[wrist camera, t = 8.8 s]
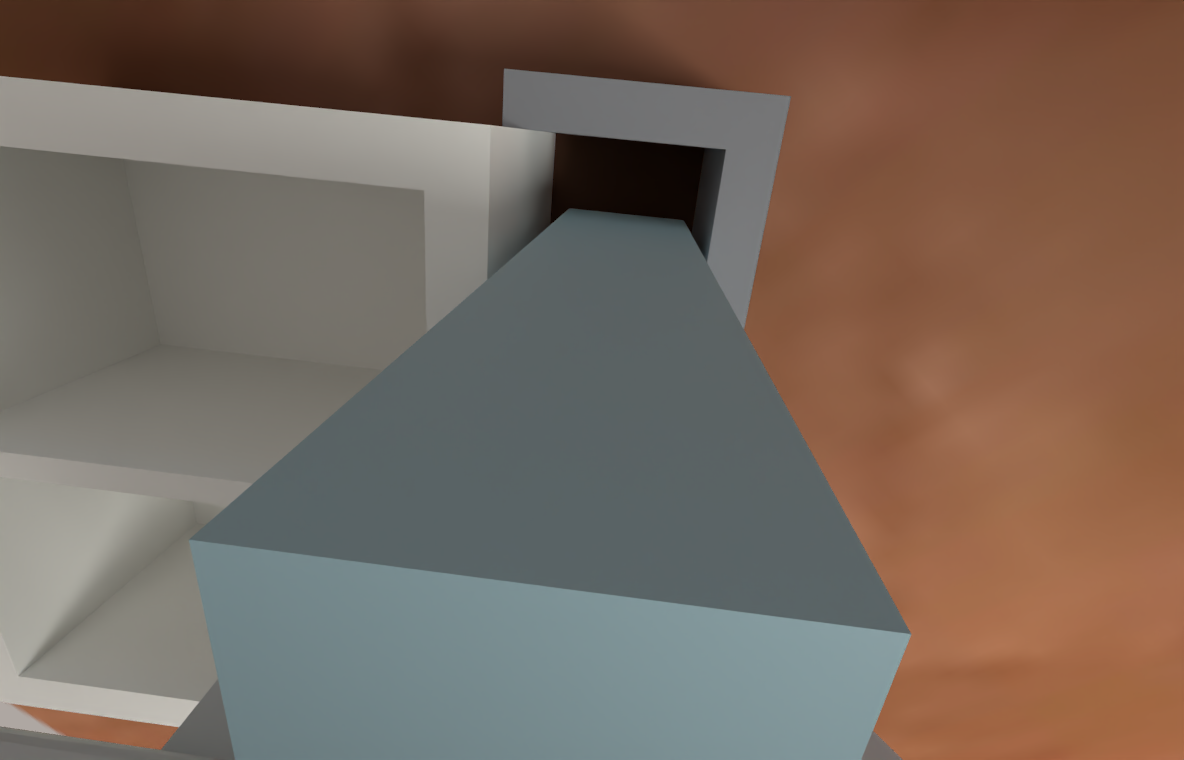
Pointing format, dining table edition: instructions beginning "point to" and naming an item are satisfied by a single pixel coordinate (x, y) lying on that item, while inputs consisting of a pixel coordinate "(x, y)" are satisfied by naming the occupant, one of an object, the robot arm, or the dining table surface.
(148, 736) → the dining table surface
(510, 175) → the cabinet
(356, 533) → the door
